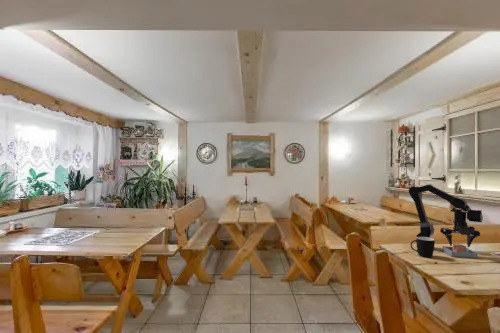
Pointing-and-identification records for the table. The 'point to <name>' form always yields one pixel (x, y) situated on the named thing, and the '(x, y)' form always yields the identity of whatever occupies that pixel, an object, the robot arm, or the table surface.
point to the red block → (459, 248)
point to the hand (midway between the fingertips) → (459, 246)
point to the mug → (424, 246)
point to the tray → (460, 253)
